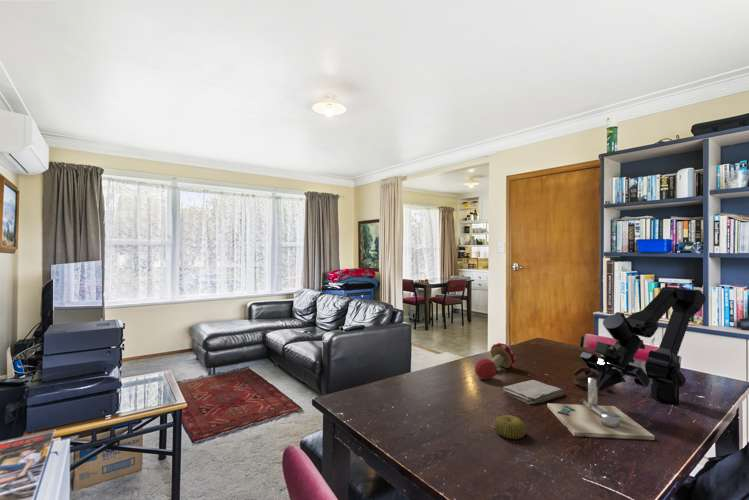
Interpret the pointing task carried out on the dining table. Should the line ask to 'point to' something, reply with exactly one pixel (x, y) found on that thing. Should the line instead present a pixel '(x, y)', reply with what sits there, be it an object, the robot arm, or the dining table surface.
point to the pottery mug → (584, 380)
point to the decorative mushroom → (502, 355)
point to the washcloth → (532, 391)
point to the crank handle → (591, 402)
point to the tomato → (485, 369)
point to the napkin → (597, 422)
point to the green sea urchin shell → (510, 426)
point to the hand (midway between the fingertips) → (597, 389)
